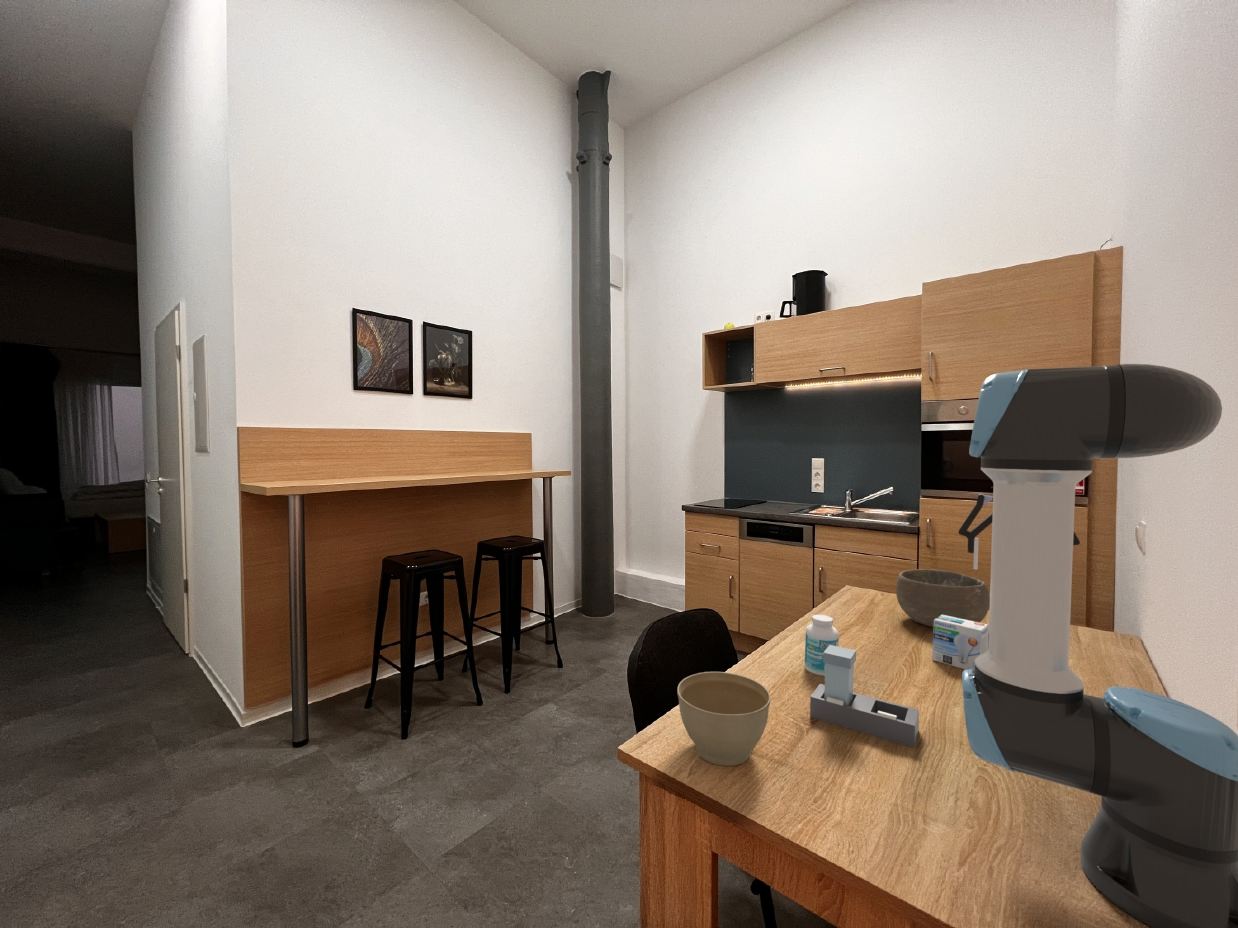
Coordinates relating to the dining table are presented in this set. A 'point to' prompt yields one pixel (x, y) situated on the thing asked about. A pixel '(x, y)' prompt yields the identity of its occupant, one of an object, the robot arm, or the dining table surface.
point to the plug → (839, 673)
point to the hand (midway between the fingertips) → (1014, 572)
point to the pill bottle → (819, 642)
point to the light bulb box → (958, 641)
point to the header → (868, 716)
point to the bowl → (941, 595)
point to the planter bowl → (723, 715)
